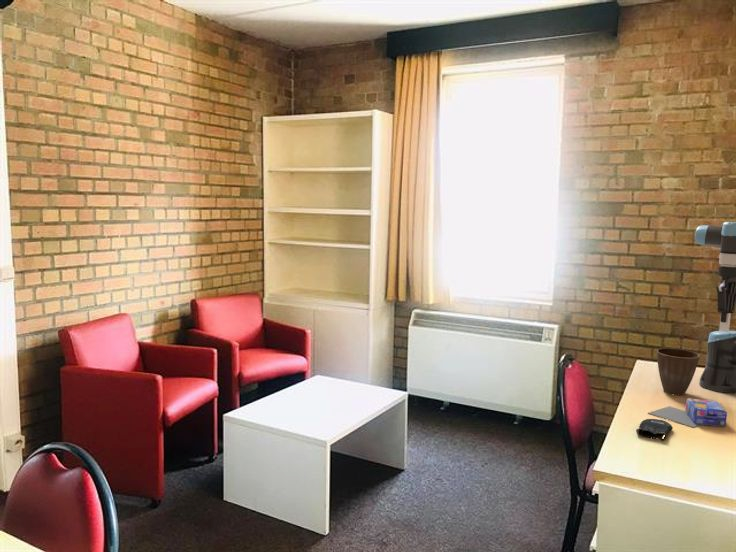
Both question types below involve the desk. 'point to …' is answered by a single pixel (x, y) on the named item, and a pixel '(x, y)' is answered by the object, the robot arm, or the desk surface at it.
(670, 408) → the mat
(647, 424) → the electronic device
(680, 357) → the plant pot
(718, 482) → the desk surface
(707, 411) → the ink cartridge box
